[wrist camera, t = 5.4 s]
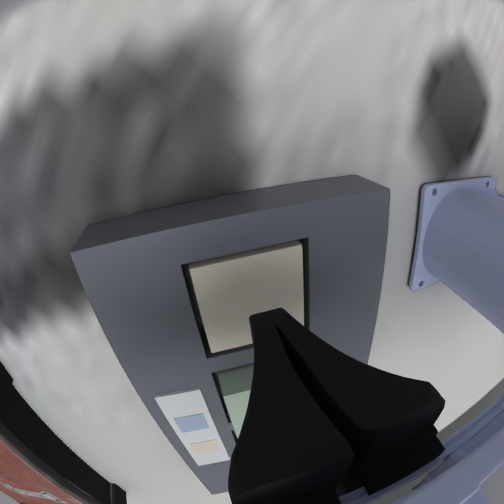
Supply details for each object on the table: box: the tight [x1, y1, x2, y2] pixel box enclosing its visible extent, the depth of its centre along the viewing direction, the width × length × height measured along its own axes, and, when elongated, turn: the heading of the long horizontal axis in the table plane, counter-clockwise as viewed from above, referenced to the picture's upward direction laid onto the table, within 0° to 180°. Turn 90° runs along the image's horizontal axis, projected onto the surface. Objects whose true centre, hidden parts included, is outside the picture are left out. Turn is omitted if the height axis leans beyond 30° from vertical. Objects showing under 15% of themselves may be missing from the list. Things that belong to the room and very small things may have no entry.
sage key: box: [217, 363, 254, 439], centre depth 16 cm, size 5×5×2 cm
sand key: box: [188, 240, 304, 353], centre depth 14 cm, size 5×5×2 cm
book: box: [0, 362, 127, 504], centre depth 16 cm, size 26×18×5 cm
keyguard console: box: [70, 175, 390, 494], centre depth 19 cm, size 14×28×3 cm, turn 6°
